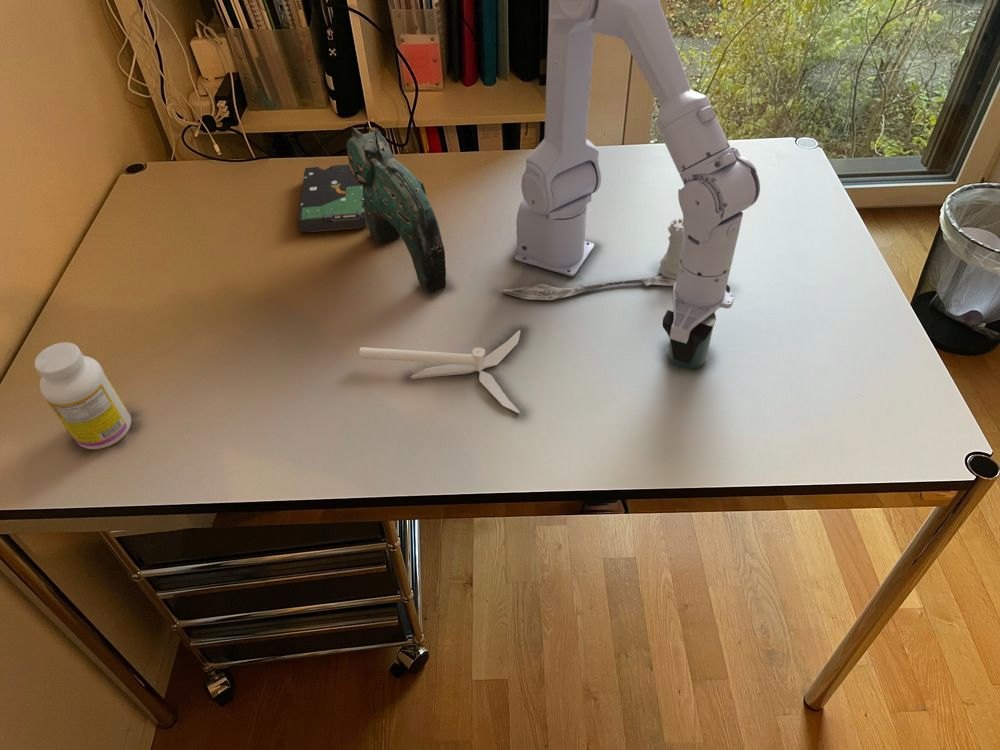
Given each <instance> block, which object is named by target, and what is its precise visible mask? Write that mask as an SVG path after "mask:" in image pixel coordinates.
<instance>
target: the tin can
mask: <svg viewBox="0 0 1000 750" xmlns="http://www.w3.org/2000/svg"><path fill="white" fill-rule="evenodd" d="M716 320H717V315H716V312H715V313H714V312H713V313H712V314H711V315H709V316H708V317H707V318H706V319H704V320H703V321H702V322H700V323H702V324H706V325H709V326H712V327H713V328H712V330H711V332H710V334H709V336H708V337H707V338H706V339H705V340H704V341H703V342H701V343H700V345H699V346H698V348H697V350H696V352H695V354H694V357H693V359H692V360H691V362H690V363H689V364H687V363H684V362H681V361H678V360H675V359H674V358H673V353H672V347H671V341H670V340H669V344H668V350H667V357H668V360H669V362H671V364H673V365H674V366H676V367H677V368H680V369H683V370H695V369H699V368H700V367H703V365H704V364H705V363H706V361H707V356H708V352H709V347H710V343H711V338H712V335H713V330H714V326H715V324H716Z"/></svg>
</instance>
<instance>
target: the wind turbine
mask: <svg viewBox="0 0 1000 750" xmlns="http://www.w3.org/2000/svg"><path fill="white" fill-rule="evenodd" d="M521 331H522V330H517V331H516V332H515V333H514V334H513V335H512V336H511V337H510V338H509V339H508V340H506V341H505V342H504V343H503V344H501V345H500V346H498V347H497V348H496V349H494V350H493V351H491V352H490V353H489V354H487V355H486V350H485V349H484V348H483V347H475V348H473V349H472V353H457V352H443V351H441V352H440V351H428V350H427V351H426V350H413V349H411V350H409V349H394V348H381V347H380V348H379V347H365V346H364V347H363V346H361V347H359V351H358V356H359V359H366V360H367V359H370V360H383V361H385V360H386V361H399V362H415V363H431V364H432V363H433V364H442V365H436V366H429V367H425V368H424V369H421V370H420V371H417V372H416V373H414V374H412V375H410V378H411V379H412V380H415V379H416V380H417V379H423V378H425V379H426V378H431V377H446V376H456V375H467V374H471V373H475V372H478V373H479V378H478V381H479V383H481V384H482V385H483V387H484V388H485V389H486V390H487V391H488V392H489V393H490V394H491V395H492V396H493V397H494V398H495V399H496V400H497V401H498V403H499V404H501V405H502V407H505V408H507V409H509V410H510V411H513V412H515V413H517V414H520V409H518V408H517V407H516V406H515V404H514V403H512V401H511V400H510V399H509V398H508V397H507V395H506V393H504V391H503V390H502V388H501V387H500V385H499V384H498V382H497V381H496V380H495V378H494V377H493V376H492V374H491V373H488V372H486V371H483V370H484V369H488V368H491V367H494V366H497V365H499V364H500V362H502V360H503V359H504V358H505V357H506V356H508V354H509V353H510V352H511V351H512V350H513V349H514V348H515V347H516V346H517V345H518V343H519V340H520V336H521Z"/></svg>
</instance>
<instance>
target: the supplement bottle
mask: <svg viewBox="0 0 1000 750" xmlns="http://www.w3.org/2000/svg"><path fill="white" fill-rule="evenodd" d="M34 367H35V369H36V371H37V373H38V374H39V376H40V380H39V390H40V393H41V395H42V396H43V398H44V399H45V400H46V402H47V403H48V405H49V406H50V407H51V409H52V410H53V412H54V413H55V414H56V416H57V417H58V419H59V420H60V421H61V423H62V424H63V426H64V427H65V428H66V430H67V431H68V433H69V435H70V436H71V437H72V438H73V440H74V441H75V442H76V444H77V445H79V446H80V447H82V448H84V449H88V450H100V449H104V448H108V447H110V446H113V445H115V444H117V443H118V442H120V441H121V440H122V439H123V438H124V437H125V436H126V435H127V434H128V432H129V430H130V428H131V425H132V416H131V414H130V412H129V411H128V408H127V407H126V405H125V403H124V402H123V399H121V396H120V395H119V394H118V391H116V388H115V387H114V385H113V384H112V382H111V381H110V379H109V378H108V376H107V374H106V372H105V371H104V369H103V367H102V366H101V364H100V363H99V361H97V360H96V359H94V358H92V357H91V356H87V355H84V354H83V352H82V351H81V350H80V348H79V347H78V346H77V345H76V344H75V343H72V342H65V341H63V342H58V343H55V344H52V345H50V346H47V347H46V348H44V349H43V350H42V351H40V352H39V353H38V355H37V356H36V357H35V359H34Z"/></svg>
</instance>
